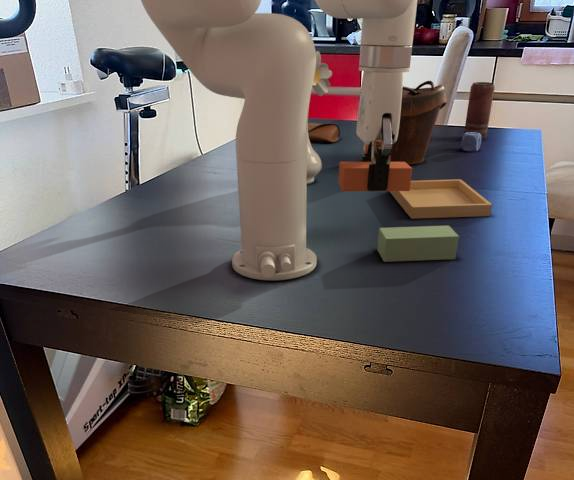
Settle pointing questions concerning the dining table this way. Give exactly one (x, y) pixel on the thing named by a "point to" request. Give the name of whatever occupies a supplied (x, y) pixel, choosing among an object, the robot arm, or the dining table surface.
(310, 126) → the sunglasses case
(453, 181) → the wooden tray
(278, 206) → the robot arm
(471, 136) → the decorative dice
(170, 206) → the dining table surface
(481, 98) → the can
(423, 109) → the wooden bucket
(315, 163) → the flower vase
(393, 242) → the pad sage
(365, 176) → the pad terracotta
